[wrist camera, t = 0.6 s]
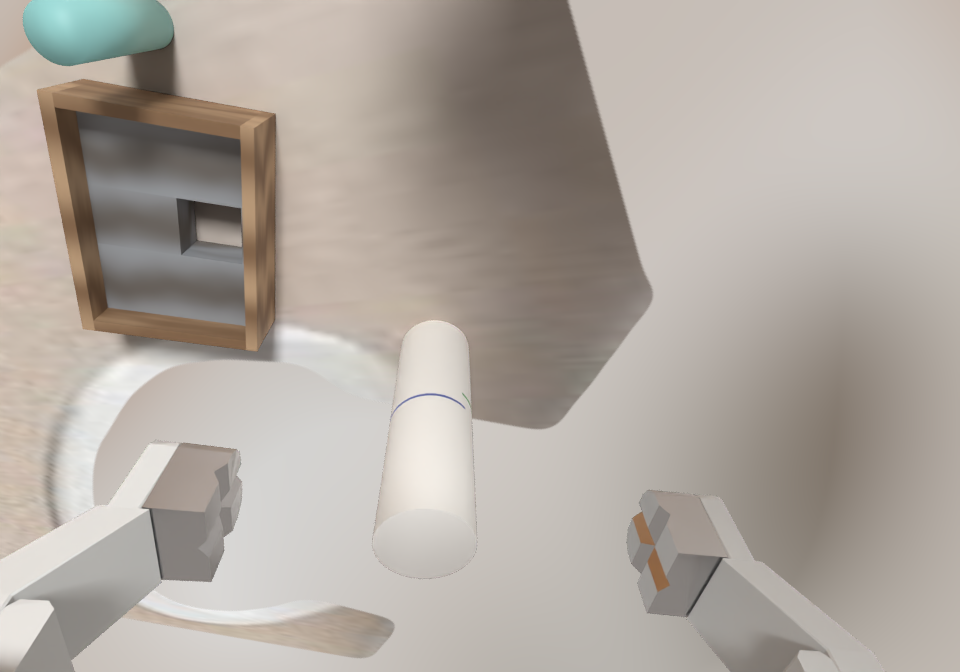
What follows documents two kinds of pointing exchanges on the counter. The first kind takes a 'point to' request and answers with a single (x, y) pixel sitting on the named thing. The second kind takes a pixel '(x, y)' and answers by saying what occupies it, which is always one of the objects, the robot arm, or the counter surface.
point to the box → (163, 211)
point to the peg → (95, 29)
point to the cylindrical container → (429, 459)
